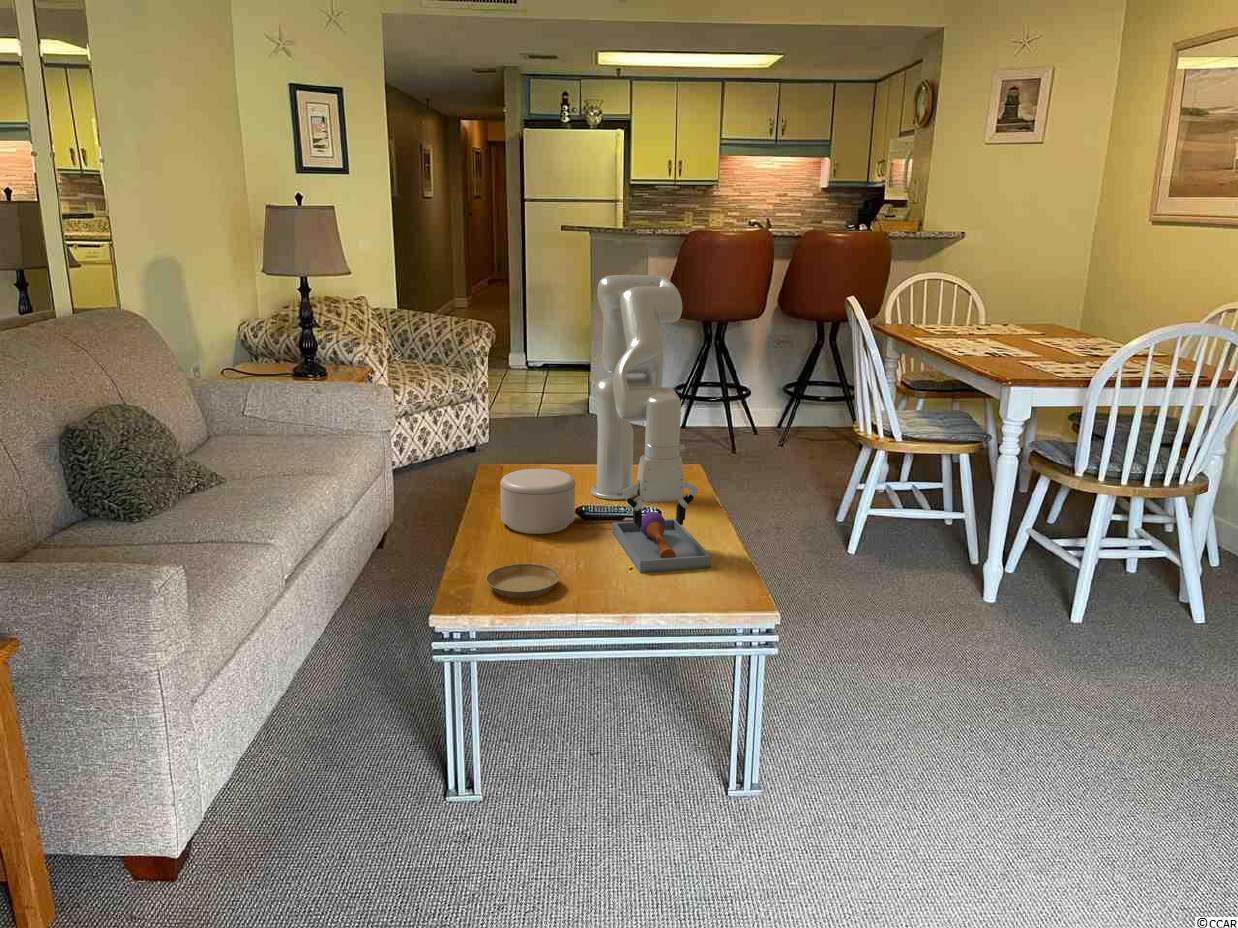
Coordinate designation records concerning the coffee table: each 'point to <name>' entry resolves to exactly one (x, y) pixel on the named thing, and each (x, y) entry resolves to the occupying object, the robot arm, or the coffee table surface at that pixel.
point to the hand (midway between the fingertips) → (658, 524)
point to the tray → (647, 552)
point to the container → (537, 500)
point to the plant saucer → (522, 580)
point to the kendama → (656, 532)
